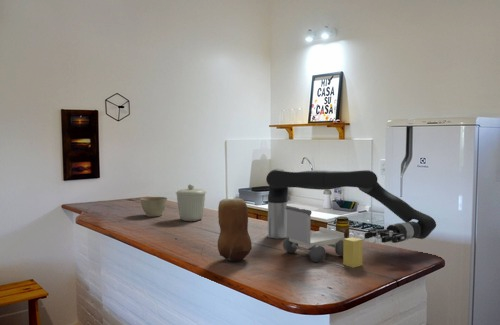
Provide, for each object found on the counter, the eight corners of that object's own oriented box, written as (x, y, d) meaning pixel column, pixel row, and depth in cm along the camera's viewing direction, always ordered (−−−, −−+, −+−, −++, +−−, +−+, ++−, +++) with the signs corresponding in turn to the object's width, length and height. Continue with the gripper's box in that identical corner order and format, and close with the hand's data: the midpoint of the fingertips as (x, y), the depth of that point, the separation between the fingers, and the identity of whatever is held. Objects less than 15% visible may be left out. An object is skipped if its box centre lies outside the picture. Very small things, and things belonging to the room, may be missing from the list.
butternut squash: (233, 253, 182) (232, 194, 181) (258, 259, 174) (258, 197, 172) (210, 261, 172) (209, 198, 170) (235, 267, 163) (234, 201, 162)
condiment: (347, 246, 194) (347, 219, 193) (329, 244, 198) (329, 218, 197) (351, 242, 200) (352, 217, 199) (334, 240, 204) (334, 215, 204)
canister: (172, 218, 262) (171, 183, 261) (201, 215, 270) (200, 182, 268) (180, 223, 246) (180, 186, 244) (210, 221, 253) (210, 185, 252)
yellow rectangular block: (353, 267, 163) (353, 241, 162) (343, 264, 167) (343, 238, 166) (362, 265, 165) (362, 239, 165) (352, 262, 169) (352, 236, 169)
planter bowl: (172, 214, 274) (172, 197, 273) (154, 219, 260) (154, 201, 260) (154, 212, 282) (153, 195, 282) (135, 216, 269) (135, 199, 268)
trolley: (312, 264, 167) (312, 211, 166) (281, 253, 183) (281, 205, 182) (350, 255, 179) (351, 206, 177) (318, 245, 195) (319, 200, 193)
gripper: (386, 220, 186) (359, 225, 177) (414, 226, 174) (388, 231, 165) (386, 238, 187) (359, 243, 178) (414, 244, 175) (388, 251, 166)
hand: (373, 237), depth 172 cm, fingers open, 8 cm apart
